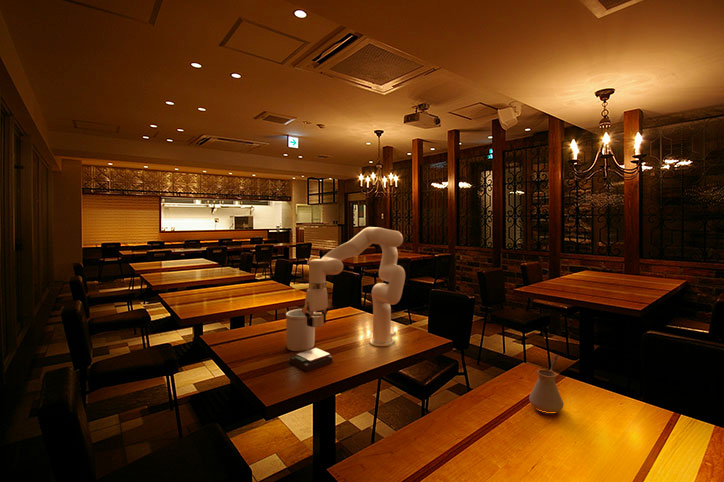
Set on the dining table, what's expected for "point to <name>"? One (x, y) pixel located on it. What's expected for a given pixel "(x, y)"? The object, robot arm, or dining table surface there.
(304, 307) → the robot arm
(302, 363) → the scale
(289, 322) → the utensil holder
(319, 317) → the bowl
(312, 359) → the scale pan
